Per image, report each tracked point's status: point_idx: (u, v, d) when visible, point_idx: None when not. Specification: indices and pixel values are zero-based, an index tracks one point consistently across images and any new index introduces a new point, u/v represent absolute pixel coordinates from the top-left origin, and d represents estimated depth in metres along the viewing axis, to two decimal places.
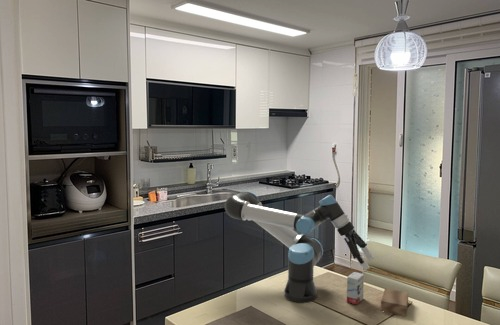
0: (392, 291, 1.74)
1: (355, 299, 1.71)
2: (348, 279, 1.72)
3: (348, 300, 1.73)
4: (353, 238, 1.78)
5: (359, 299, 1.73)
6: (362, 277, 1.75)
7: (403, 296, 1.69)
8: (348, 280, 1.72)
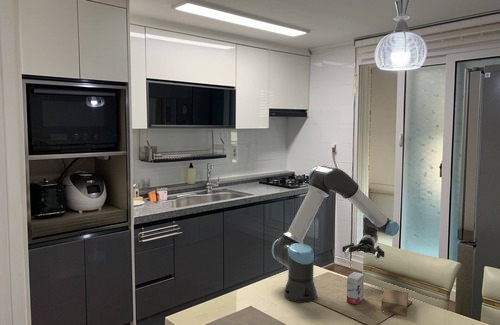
0: (392, 291, 1.74)
1: (355, 299, 1.71)
2: (348, 279, 1.72)
3: (348, 300, 1.73)
4: None
5: (359, 299, 1.73)
6: (362, 277, 1.75)
7: (403, 296, 1.69)
8: (348, 280, 1.72)
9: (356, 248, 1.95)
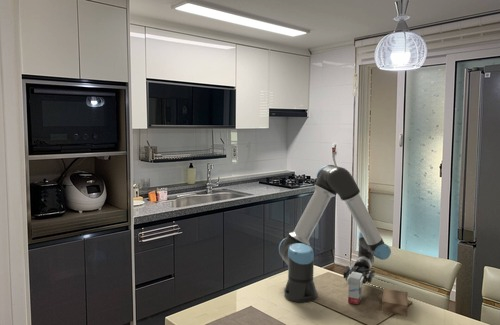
0: (391, 291, 1.74)
1: (357, 299, 1.71)
2: (350, 279, 1.71)
3: (350, 300, 1.72)
4: None
5: (360, 298, 1.74)
6: None
7: (403, 296, 1.69)
8: (350, 280, 1.71)
9: None
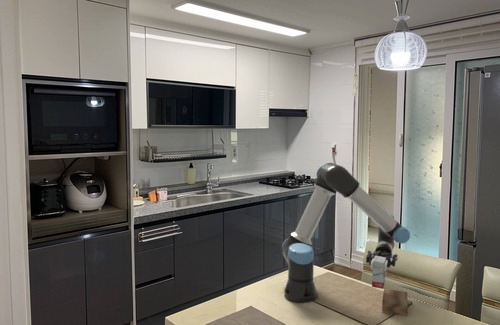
0: (391, 291, 1.74)
1: (381, 283, 1.67)
2: (374, 263, 1.68)
3: (374, 285, 1.68)
4: None
5: None
6: (385, 260, 1.72)
7: (403, 296, 1.69)
8: (374, 264, 1.68)
9: None
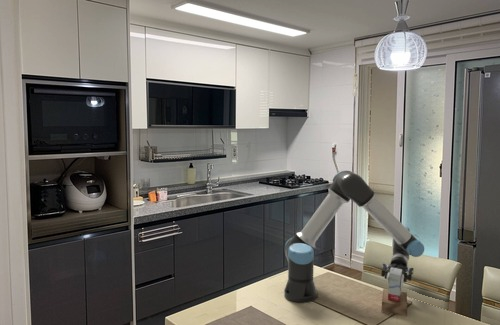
0: None
1: (398, 296, 1.64)
2: (390, 275, 1.65)
3: (390, 297, 1.65)
4: None
5: None
6: (401, 272, 1.69)
7: (402, 296, 1.69)
8: (390, 276, 1.65)
9: None
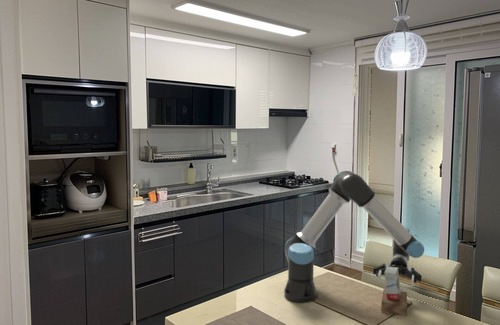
0: None
1: (396, 294, 1.64)
2: (386, 275, 1.66)
3: (389, 297, 1.66)
4: None
5: (399, 294, 1.67)
6: (397, 270, 1.69)
7: (402, 296, 1.69)
8: (386, 276, 1.66)
9: None
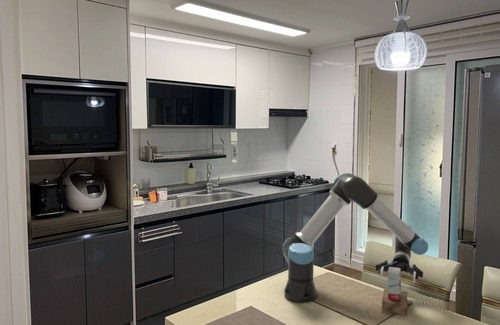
0: None
1: (398, 295, 1.64)
2: (389, 274, 1.65)
3: (390, 297, 1.65)
4: None
5: (400, 294, 1.67)
6: (400, 271, 1.69)
7: (403, 296, 1.69)
8: (389, 276, 1.65)
9: None
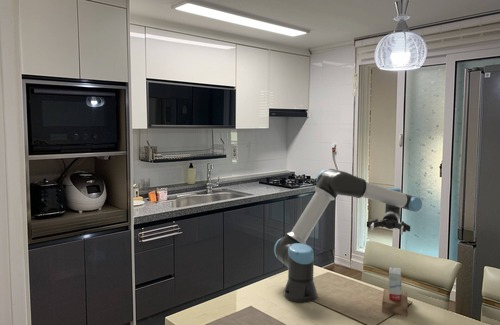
0: None
1: (399, 295, 1.64)
2: (390, 275, 1.65)
3: (391, 297, 1.65)
4: None
5: None
6: None
7: (403, 296, 1.69)
8: (390, 276, 1.65)
9: (380, 223, 1.94)
